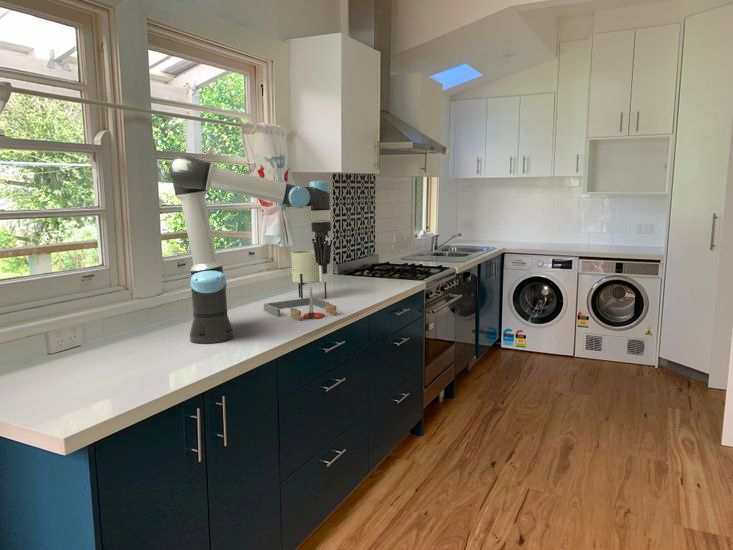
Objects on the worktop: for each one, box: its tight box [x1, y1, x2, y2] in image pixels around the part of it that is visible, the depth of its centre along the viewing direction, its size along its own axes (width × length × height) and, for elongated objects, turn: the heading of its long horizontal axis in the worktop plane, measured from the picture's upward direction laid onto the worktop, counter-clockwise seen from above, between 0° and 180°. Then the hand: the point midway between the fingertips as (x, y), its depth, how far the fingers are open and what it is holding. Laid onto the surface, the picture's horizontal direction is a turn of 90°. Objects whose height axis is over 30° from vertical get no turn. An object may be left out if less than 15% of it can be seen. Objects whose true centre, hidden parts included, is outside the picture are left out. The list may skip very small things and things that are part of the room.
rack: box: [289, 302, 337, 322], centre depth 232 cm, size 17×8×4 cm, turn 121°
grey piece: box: [263, 296, 330, 317], centre depth 246 cm, size 24×16×3 cm, turn 121°
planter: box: [290, 249, 327, 299], centre depth 269 cm, size 15×16×23 cm
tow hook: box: [302, 286, 325, 320], centre depth 232 cm, size 8×13×9 cm
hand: (323, 281), depth 222 cm, fingers closed
